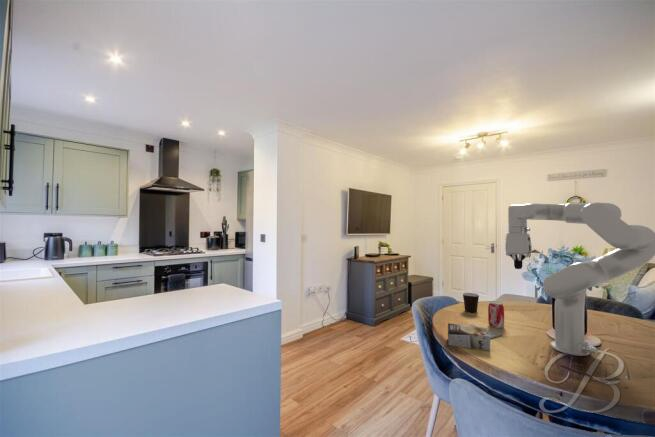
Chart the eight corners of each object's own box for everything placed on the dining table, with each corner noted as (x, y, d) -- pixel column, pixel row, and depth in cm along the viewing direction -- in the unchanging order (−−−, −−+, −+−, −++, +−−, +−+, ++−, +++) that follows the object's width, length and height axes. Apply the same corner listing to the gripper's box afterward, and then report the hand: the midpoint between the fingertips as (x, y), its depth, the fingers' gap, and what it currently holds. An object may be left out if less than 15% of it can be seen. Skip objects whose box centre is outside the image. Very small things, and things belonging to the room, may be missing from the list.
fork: (562, 365, 110) (562, 360, 110) (620, 386, 96) (620, 380, 96) (558, 367, 108) (558, 362, 108) (617, 389, 94) (617, 382, 94)
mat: (501, 335, 137) (501, 334, 137) (479, 342, 130) (479, 341, 130) (471, 325, 151) (471, 324, 151) (450, 331, 143) (450, 330, 143)
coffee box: (490, 336, 121) (448, 331, 127) (490, 351, 121) (448, 345, 127) (487, 327, 130) (447, 322, 135) (487, 341, 130) (447, 336, 136)
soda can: (506, 329, 146) (506, 305, 146) (490, 328, 147) (490, 304, 147) (501, 324, 153) (501, 301, 153) (486, 323, 154) (486, 300, 154)
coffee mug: (467, 308, 181) (466, 291, 181) (481, 311, 174) (481, 294, 174) (457, 312, 173) (457, 295, 174) (472, 315, 167) (472, 297, 167)
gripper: (538, 230, 138) (539, 270, 138) (505, 230, 151) (505, 266, 150) (531, 230, 134) (532, 271, 134) (497, 230, 146) (498, 267, 146)
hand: (518, 268), depth 142 cm, fingers closed
